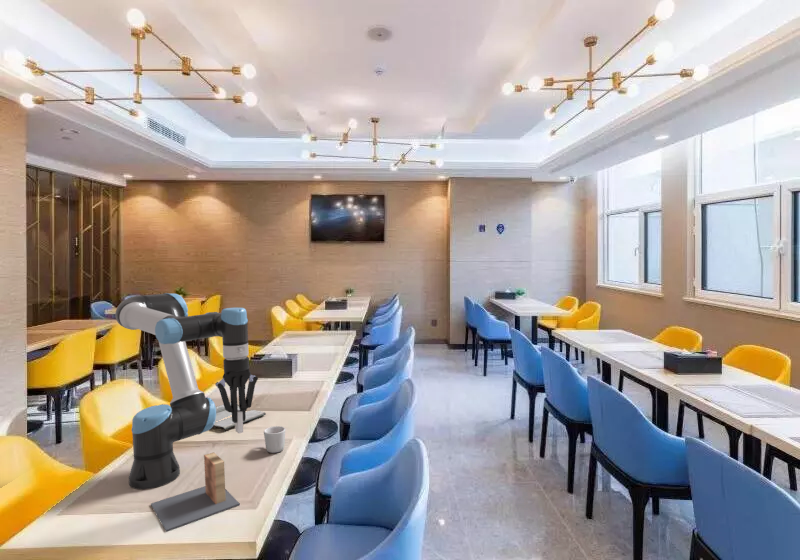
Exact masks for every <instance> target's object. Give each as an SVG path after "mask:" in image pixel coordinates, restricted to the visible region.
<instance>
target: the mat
mask: <svg viewBox="0 0 800 560" xmlns="http://www.w3.org/2000/svg"><path fill="white" fill-rule="evenodd" d="M229 402H230V405H231V401H229ZM215 407H216V420H215V423H214V425H213V427H216V428H222V429H224V430H225V432H227V430H228V429H230V428H233V427H235V423H234V422H233V421H232V417H230V418H227V419H224V420H221V419H223V418H225V417H228V416H230V415H232V412H228V411H226V410H225V407H224V404H221V405H217V406H216V405H215ZM237 407H238V410H240V409H239V403H237ZM246 411H247V412H246ZM246 411H245V416H246V419H245V421H243V424H244V423H246V422H249V421H252V420H255V419H257V418H260V417H264V416H266V415H267V413H266V412H265V411H261V410H256V409H251V410H246ZM219 420H221V421H219ZM216 421H218V422H216Z"/></svg>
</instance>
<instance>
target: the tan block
mask: <svg viewBox="0 0 800 560" xmlns="http://www.w3.org/2000/svg"><path fill="white" fill-rule="evenodd" d="M203 458H204V459H203V460H204V461H203V462H204V463H203V464H204V481H205V483H204V484H205V485H204V486H205V488H206V494H207V495H208V496H209V497H210V498H211V499H212V501H213V502H214V503H215V504H217V503H220V502H223V501H226V496H225V489H226V481H225V480H226V478H225V477H226V475H225V474H226V473H225V461H224V460H223V459H222V458H221V457H220V456H219V455H218V454H217V453H215V451H214V452H210V453H207V454H203Z"/></svg>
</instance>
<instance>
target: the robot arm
mask: <svg viewBox="0 0 800 560" xmlns="http://www.w3.org/2000/svg"><path fill="white" fill-rule="evenodd" d="M188 312H189V308H188V305H187V303H186V300H185V299H184V298H183V297H182V295H179V294H177V293H167V292H165V293H158V294H145V295H134V296H130V297H128V298H126V299H124V300H123V301H122V302H120V303H119V304H118V306H117V307H116V309H115V315H114V316H115V320H116V322H117V323H118V324H119V326H120V327H123V328H124V329H127V330H131V331H134V330H135V331H137V330H139V331H142V332H145V333H149V334H152V335H154V336H155V338H156V340H158V346H159V348H160V352H161V356H162V361H163V364H164V368H165V372H166V376H167V379H168V383H169V387H170V390H171V394H172V399H171V400H170V403H169V404H163V403H162V404H159V405H151V406H148V407H146V408H143V409H141V410H140V411H138V412H137V413H136V414H134V416H133V418H132V419H131V421H132V422H131V425H132V426H131V433H132V446H133V447H132V450H133V461H132V465H131V467H130V468H131V469H130V472H129V473H128V474H129V475H128V485H129V487H130V488H132V489H137V490H147V489H154V488H158V487H162V486H165V485H167V484H170V483H171V482H173V481H174V480H176V479H177V478H178V477H180V474H181V469H180V465H179V462H178V460H177V458H176V455H175V453H174V446H173V445H174V443H176V442H178V441H181V440H185V439H187V438H190V437H194V436H196V435H197V436H198V435H202V434H203V433H205V432H208V431H210V430H212V429H213V427H214V426H213V425H214V423H215V420H216V403H215V401H214V400H213V399H212V398H211V397H206V394H205V392H204V391H202V390H200V389H199V387H198V383H197V379H196V375H195V372H194V368H193V365H192V361H191V358H190V354H189V350H188V347H187V343H186V342H189V341H195V340H201V339H208V338H214V337H220V338H222V356H223V358H224V359H223V375H222V378H221V380H220V381H217V382H216V383H214V384H215V386H216V387H217V389H218V391H219V393H220V396H221V397H220V398H221V400H222V403H223V404H224V407H225V410H226V411H228V412H232V421H233V422H234V423H235V426H234V428H235V429H234V430H235V432H236V433H237V434H241V433H244V423H243V421H245V419H246V416H245V412H246V411H248V409H250V408H251V407H252V403H253V398H254V394H255V393H254V392H255V387H256V384H257V382H258V380H259V377H258V376H257V375H254V374H252V373H251V371H250V358H249V357H248V356H249V353H250V352H249V335H248V334H249V329H248V328H249V323H248V321H249V319H248V314H247V309H246V308H244V307H227V308H223V309H222V310H221V312H217V311H211V312H206V313H203V314H197V315H189V313H188ZM247 382H248V384H247ZM246 384H247V389H246ZM226 385H227V386H229V393H230V394H229V395H230V399H229V396H228V393H227V390H226V388H225V387H226ZM246 390H247V391H246ZM230 402H231V405H230ZM223 404H222V405H223ZM237 404H238V405H239V409H240V410H238V407H237Z"/></svg>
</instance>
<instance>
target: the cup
mask: <svg viewBox="0 0 800 560" xmlns="http://www.w3.org/2000/svg"><path fill="white" fill-rule="evenodd" d="M263 435H264V436H263V437H264V443H265V450H266V451H267V452H268V453H271V454H276V453H280V452H282V451H283V450H284V448H285V444H286V443H285V442H286V427H284V426H281V425H279V426H278V425H275V426H269V427H267V428H265V429H264V430H263Z"/></svg>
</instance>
